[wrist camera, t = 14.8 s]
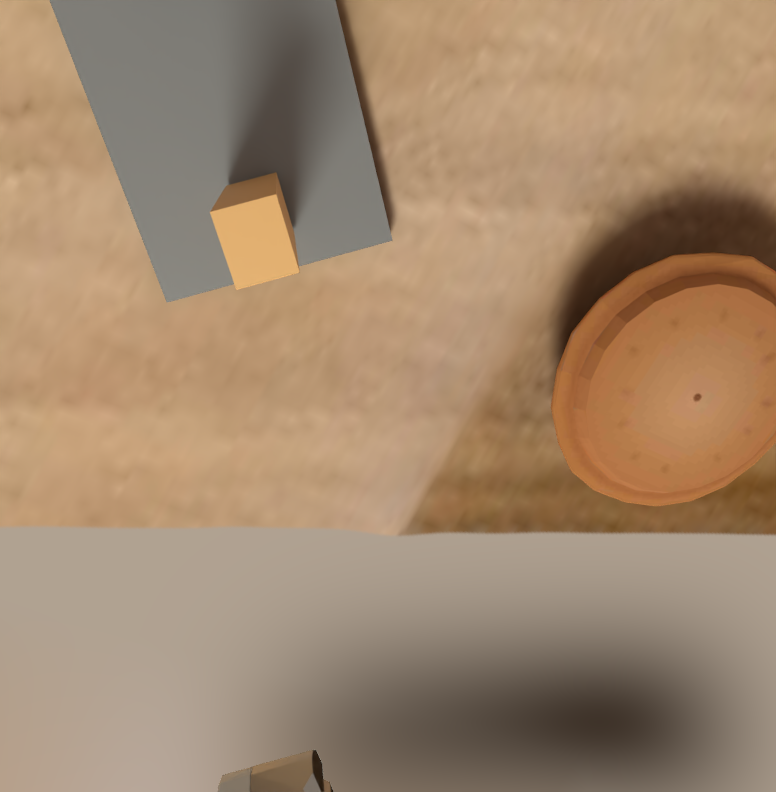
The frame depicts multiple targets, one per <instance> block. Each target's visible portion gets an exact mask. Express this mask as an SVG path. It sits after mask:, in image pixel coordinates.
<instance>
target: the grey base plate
mask: <svg viewBox="0 0 776 792" xmlns="http://www.w3.org/2000/svg"><path fill="white" fill-rule="evenodd" d="M50 3H51V5H52V8H53V10H54V13H55V15H56V18H57V21H58V23H59V26H60V28H61V31H62V34H63V36H64V39H65V41H66V44H67V46H68V49H69V52H70V54H71V57H72V59H73V62H74V64H75V67H76V70H77V72H78V75H79V77H80V80H81V82H82V85H83V88H84V90H85V93H86V95H87V98H88V101H89V103H90V106H91V108H92V111H93V113H94V116H95V119H96V121H97V124H98V126H99V129H100V131H101V134H102V137H103V139H104V142H105V144H106V147H107V149H108V152H109V155H110V157H111V160H112V162H113V165H114V168H115V170H116V173H117V175H118V178H119V180H120V183H121V186H122V188H123V191H124V193H125V196H126V198H127V201H128V204H129V206H130V209H131V211H132V214H133V216H134V219H135V222H136V224H137V227H138V229H139V232H140V234H141V237H142V240H143V242H144V245H145V247H146V250H147V253H148V255H149V258H150V260H151V263H152V265H153V268H154V271H155V273H156V276H157V278H158V281H159V283H160V286H161V289H162V291H163V294H164V296H165V299H166V301H167V302H171V301H174V300H178V299H182V298H185V297H189V296H192V295H196V294H200V293H203V292H207V291H211V290H214V289H218V288H222V287H225V286H229V285H232V284H234V281H233V279H232V276H231V273H230V270H229V267H228V264H227V261H226V258H225V255H224V252H223V249H222V246H221V243H220V241H219V238H218V235H217V232H216V229H215V226H214V223H213V220H212V217H211V214H210V211H211V209H212V208H213V206H214V205H215V203H216V201H217V200H218V198H219V196H220V195H221V193H222V192H223V190H224V188H225V187H226V186H227V185H231V184H234V183H238V182H242V181H246V180H249V179H253V178H257V177H260V176H264V175H268V174H272V173H275V172H276V173H277V176H278V179H279V183H280V186H281V190H282V193H283V196H284V200H285V203H286V207H287V210H288V213H289V217H290V220H291V223H292V227H293V230H294V234H295V242H296V249H297V256H298V264H299V266H302V265H305V264H309V263H312V262H316V261H320V260H323V259H327V258H331V257H334V256H338V255H342V254H345V253H349V252H352V251H356V250H360V249H363V248H367V247H371V246H374V245H378V244H382V243H385V242H389V241H392V236H391V232H390V228H389V224H388V220H387V215H386V211H385V207H384V203H383V199H382V194H381V190H380V186H379V182H378V178H377V173H376V169H375V165H374V161H373V156H372V152H371V148H370V144H369V140H368V135H367V131H366V127H365V123H364V119H363V114H362V110H361V106H360V102H359V98H358V93H357V89H356V85H355V81H354V76H353V72H352V68H351V64H350V60H349V55H348V51H347V47H346V43H345V39H344V34H343V30H342V26H341V22H340V18H339V13H338V9H337V5H336V1H335V0H50Z"/></svg>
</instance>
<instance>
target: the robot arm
mask: <svg viewBox="0 0 776 792" xmlns="http://www.w3.org/2000/svg"><path fill="white" fill-rule="evenodd" d="M218 792H333V789H332V787H331V784H330V782H328V781H326V780H324V779H323V768H322V762H321V760H320V758H319V755H318V753H317V751H316V750H311V751H307V752H303V753H300V754H296V755H292V756H289V757H285V758H281V759H278V760H274V761H270V762H267V763H263V764H259V765H256V766H253V767H250V768H246V769H243V770H239V771H236V772H232V773H228V774H225V775H223V776H222V778H221V781H220V783H219V786H218Z"/></svg>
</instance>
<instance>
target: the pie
mask: <svg viewBox="0 0 776 792" xmlns="http://www.w3.org/2000/svg"><path fill="white" fill-rule="evenodd" d="M551 410H552V415H553V420H554V425H555V430H556V435H557V440H558V443H559V445H560V448H561V450H562V452H563V454H564V456H565V459H566V461H567V463H568V465H569V468H570V470H571V471H572V472H573V473H574V474H575V475H576V476H578V477H579V478H580V479H581V480H582V481H584V482H585V483H586V484H587V485H588V486H590V487H591V488H592V489H593V490H595V491H597V492H600V493H602V494H605V495H607V496H610V497H613V498H615V499H618V500H621V501H623V502H628V503H636V504H643V505H651V506H662V505H669V504H675V503H681V502H688V501H693V500H695V499H697V498H699V497H702V496H704V495H706V494H709V493H711V492H713V491H715V490H718V489H720V488H722V487H725V486H726V485H727V484H729V483H730V482H731V481H733V480H734V479H735V478H737V477H738V476H739V475H741V474H742V473H743V472H745V471H746V470H747V469H749V468H750V467H751V466H753V465H754V464H755V463H756V462H757V461H758V460H759V459H760V458H761V457H762V456H763V455H764V454H765V453H766V452H767V451H768V450H769V449H770V448H771V447H772V446H773V445H774V444H775V443H776V271H774V270H773V269H771V268H770V267H768V266H767V265H765V264H763V263H762V262H760V261H759V260H757V259H756V258H754V257H752V256H745V255H735V254H725V253H714V252H712V253H695V254H679V255H671V256H669V257H667V258H664V259H662V260H660V261H657V262H655V263H653V264H651V265H648V266H646V267H644V268H641V269H639V270H637V271H634V272H632V273H631V274H630V275H628V276H627V277H626V278H625V279H623V280H622V281H621V282H619V283H618V284H617V285H616V286H614V287H613V288H612V289H610V290H609V291H608V292H607V293H605V294H604V295H603V296H601V297H600V298H599V299H598V300H597V301H596V303H595V304H594V305H593V306H592V308H591V309H590V310H589V311H588V313H587V314H586V315H585V316H584V317H583V319H582V320H581V321H580V322H579V324H578V325H577V326H576V327H575V329H574V330H573V331H572V332H571V335H570V337H569V340H568V342H567V345H566V348H565V350H564V353H563V355H562V358H561V360H560V363H559V365H558V368H557V372H556V378H555V384H554V390H553V397H552V403H551Z"/></svg>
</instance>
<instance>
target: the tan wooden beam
mask: <svg viewBox="0 0 776 792" xmlns="http://www.w3.org/2000/svg"><path fill="white" fill-rule="evenodd" d="M210 214H211V217H212V220H213V223H214V226H215V229H216V232H217V235H218V238H219V241H220V243H221V246H222V249H223V252H224V255H225V258H226V261H227V264H228V267H229V270H230V273H231V276H232V279H233V281H234V284H235V287H236V290H238V289H242V288H245V287H249V286H253V285H256V284H260V283H264V282H267V281H271V280H274V279H278V278H282V277H285V276H289V275H293V274H296V273H300V271H299V264H298V256H297V249H296V242H295V234H294V230H293V227H292V223H291V220H290V217H289V213H288V210H287V207H286V203H285V200H284V196H283V193H282V190H281V186H280V183H279V179H278V176H277V173H276V172H275V173H272V174H268V175H264V176H260V177H257V178H253V179H249V180H246V181H242V182H238V183H234V184H231V185H227V186H226V187H225V188H224V190H223V192H222V193H221V195H220V196H219V198H218V200H217V201H216V203H215V205H214V206H213V208H212V209H211V211H210Z"/></svg>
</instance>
